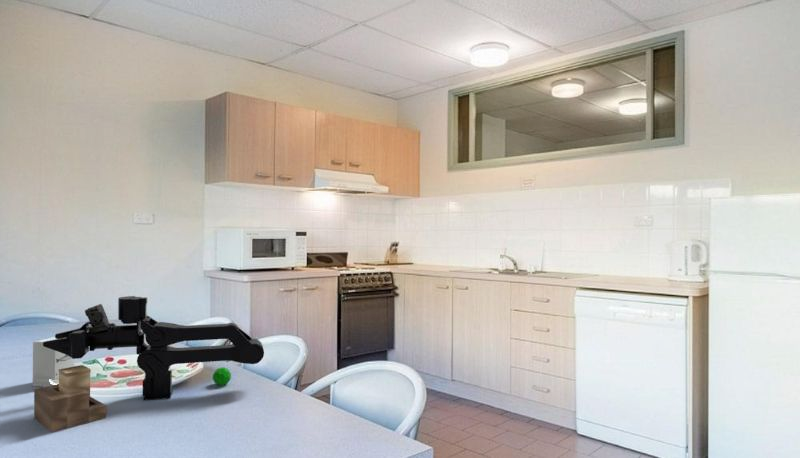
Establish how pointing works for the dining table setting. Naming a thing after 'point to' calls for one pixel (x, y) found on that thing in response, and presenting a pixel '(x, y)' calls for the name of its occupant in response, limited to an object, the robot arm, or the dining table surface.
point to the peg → (74, 379)
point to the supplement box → (48, 363)
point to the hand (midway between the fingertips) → (49, 340)
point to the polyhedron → (221, 376)
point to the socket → (65, 408)
